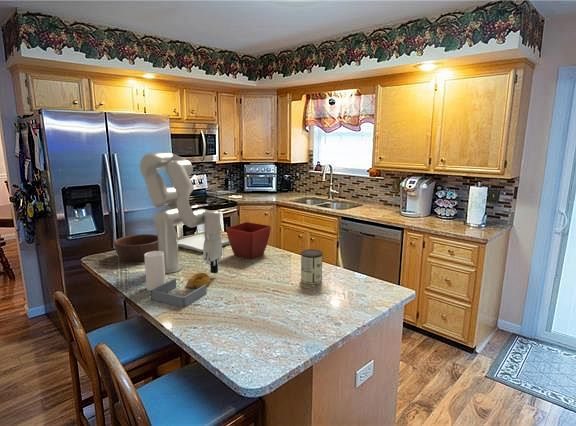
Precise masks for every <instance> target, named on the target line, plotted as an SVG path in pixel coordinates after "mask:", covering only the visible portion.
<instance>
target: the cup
mask: <svg viewBox="0 0 576 426" xmlns="http://www.w3.org/2000/svg"><path fill="white" fill-rule="evenodd" d="M144 258H145V261H144V270H145V284H146V290H147V291H149V292H150V290H152V289H154V288H156V287H158V286H160V285H162V284H164V283H167V282H166V273H165V264H164V253H163V252H161V251H152V252H148V253H145V254H144Z"/></svg>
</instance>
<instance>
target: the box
mask: <svg viewBox="0 0 576 426" xmlns="http://www.w3.org/2000/svg"><path fill="white" fill-rule="evenodd" d="M175 288H177V279H176V278H173V279H170V280H169V281H167V282H166V283H164V284H162V285H160V286H158V287H156V288H154V289H152V290H150V291H149V292H150V300H153V301H156V302H161V303H165V304H169V305H174V306H176V307H177V306H178V307H181V308H185V307H187V306H189V305H191V304H192V303H194V302H195V301H197V300H199V299H200V298H202V297H203V296H205V295H207V292H208V291H207V286H206V285H203V286H202V287H200V288H196V289H195V290H192V292H190V293H188V294H186V295H184V296H181V295H178V294H172V293H168V292H170V291H172V290H174V289H175Z"/></svg>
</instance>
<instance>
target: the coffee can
mask: <svg viewBox="0 0 576 426" xmlns="http://www.w3.org/2000/svg"><path fill="white" fill-rule="evenodd" d="M323 253H324V252H323V251H322V250H320V249H316V248H314V249H312V248H311V249H309V248H308V249H303V250H301V252H300V258H301V259H300V282H301V283H304V284H307V285H317V284H320V283H322V282H323V255H324V254H323Z"/></svg>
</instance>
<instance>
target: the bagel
mask: <svg viewBox="0 0 576 426" xmlns="http://www.w3.org/2000/svg"><path fill="white" fill-rule="evenodd" d="M210 284H211V277H210V275H208V274H207V273H204V272H198V273H194V274H193V275H192V276H191V277H190V278H189V279H188V280H187V283H186V287H187V288H190V289H195V288H196V289H198V288H200V287H202V286H203V285H206V287H208V286H209V285H210Z"/></svg>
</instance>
